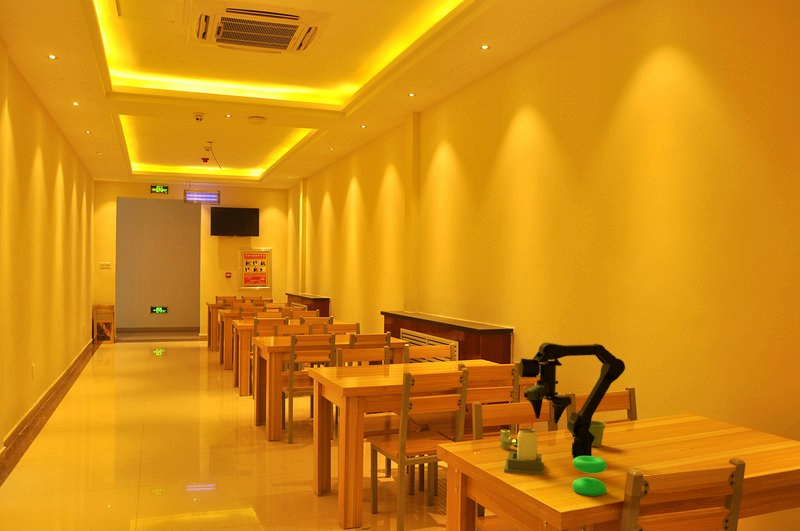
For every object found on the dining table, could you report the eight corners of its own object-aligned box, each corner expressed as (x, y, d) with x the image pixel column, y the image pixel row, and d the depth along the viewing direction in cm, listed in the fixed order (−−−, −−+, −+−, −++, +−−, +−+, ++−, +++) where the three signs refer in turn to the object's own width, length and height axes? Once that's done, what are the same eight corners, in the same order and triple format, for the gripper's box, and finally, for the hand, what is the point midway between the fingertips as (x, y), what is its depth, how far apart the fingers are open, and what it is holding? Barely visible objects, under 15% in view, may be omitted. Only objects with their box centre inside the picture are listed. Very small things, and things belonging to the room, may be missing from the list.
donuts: (614, 461, 208) (588, 464, 204) (613, 495, 208) (587, 498, 204) (591, 453, 217) (566, 456, 213) (591, 485, 217) (565, 488, 213)
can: (514, 463, 237) (515, 428, 237) (532, 462, 238) (533, 428, 238) (520, 468, 230) (521, 432, 230) (539, 468, 231) (540, 432, 232)
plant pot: (594, 449, 264) (594, 426, 264) (575, 443, 272) (576, 421, 272) (610, 446, 269) (611, 424, 269) (591, 441, 277) (592, 419, 277)
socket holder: (544, 465, 239) (544, 453, 239) (544, 475, 227) (544, 463, 227) (506, 461, 242) (506, 450, 242) (504, 472, 229) (504, 459, 229)
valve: (494, 447, 262) (515, 455, 252) (495, 430, 262) (515, 437, 252) (508, 445, 266) (529, 453, 255) (508, 428, 266) (529, 435, 255)
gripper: (513, 375, 254) (512, 418, 254) (550, 382, 239) (549, 428, 238) (535, 373, 260) (534, 415, 260) (573, 380, 245) (572, 425, 244)
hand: (546, 420), depth 251 cm, fingers open, 9 cm apart
